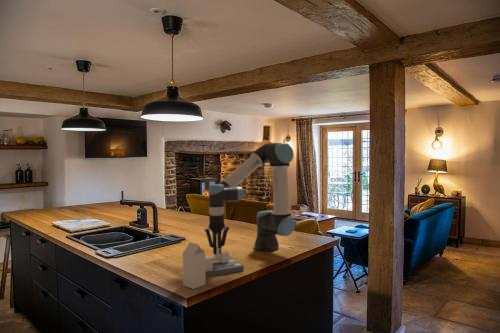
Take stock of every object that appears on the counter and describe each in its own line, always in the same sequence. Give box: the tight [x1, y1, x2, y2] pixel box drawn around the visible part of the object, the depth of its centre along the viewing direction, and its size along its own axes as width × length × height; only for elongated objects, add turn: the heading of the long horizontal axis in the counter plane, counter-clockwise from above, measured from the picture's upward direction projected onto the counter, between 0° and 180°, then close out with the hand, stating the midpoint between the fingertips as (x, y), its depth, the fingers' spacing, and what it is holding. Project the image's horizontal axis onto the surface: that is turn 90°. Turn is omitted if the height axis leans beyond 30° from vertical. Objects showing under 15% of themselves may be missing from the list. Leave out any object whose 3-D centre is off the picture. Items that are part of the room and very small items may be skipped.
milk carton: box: [182, 241, 206, 290], centre depth 158 cm, size 7×7×19 cm
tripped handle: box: [219, 250, 230, 263], centre depth 183 cm, size 4×4×5 cm
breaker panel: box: [205, 256, 245, 278], centre depth 181 cm, size 24×20×8 cm
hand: (217, 260), depth 181 cm, fingers closed
